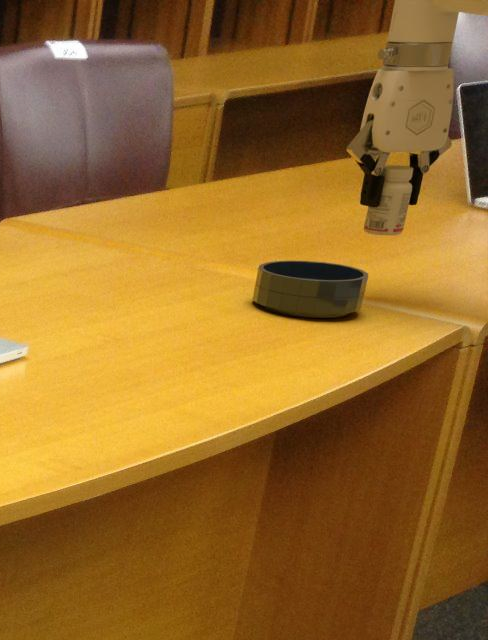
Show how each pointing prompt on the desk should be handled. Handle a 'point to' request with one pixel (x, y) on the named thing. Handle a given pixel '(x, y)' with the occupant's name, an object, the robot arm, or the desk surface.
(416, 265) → the desk surface
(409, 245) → the desk surface
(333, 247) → the desk surface
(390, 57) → the robot arm
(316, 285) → the bowl
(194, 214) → the desk surface
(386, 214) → the pill bottle
